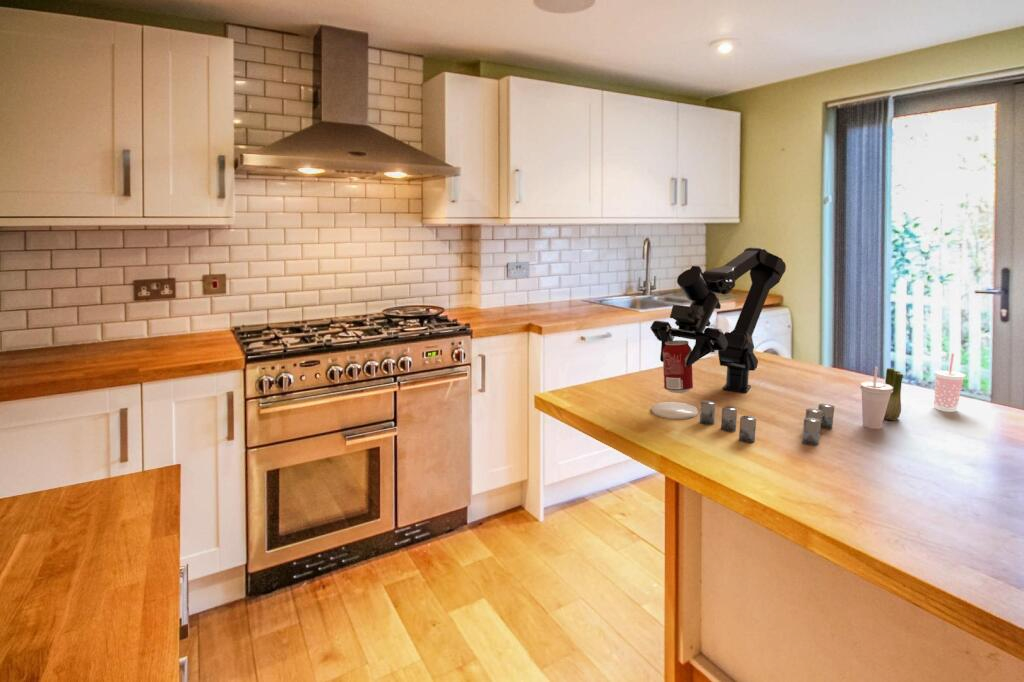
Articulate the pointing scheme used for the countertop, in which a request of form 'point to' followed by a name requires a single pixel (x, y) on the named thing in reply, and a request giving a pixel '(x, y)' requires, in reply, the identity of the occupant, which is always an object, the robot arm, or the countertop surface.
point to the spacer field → (748, 423)
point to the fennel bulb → (893, 394)
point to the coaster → (674, 410)
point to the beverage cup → (948, 389)
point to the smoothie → (874, 402)
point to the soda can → (677, 366)
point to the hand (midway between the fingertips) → (673, 363)
